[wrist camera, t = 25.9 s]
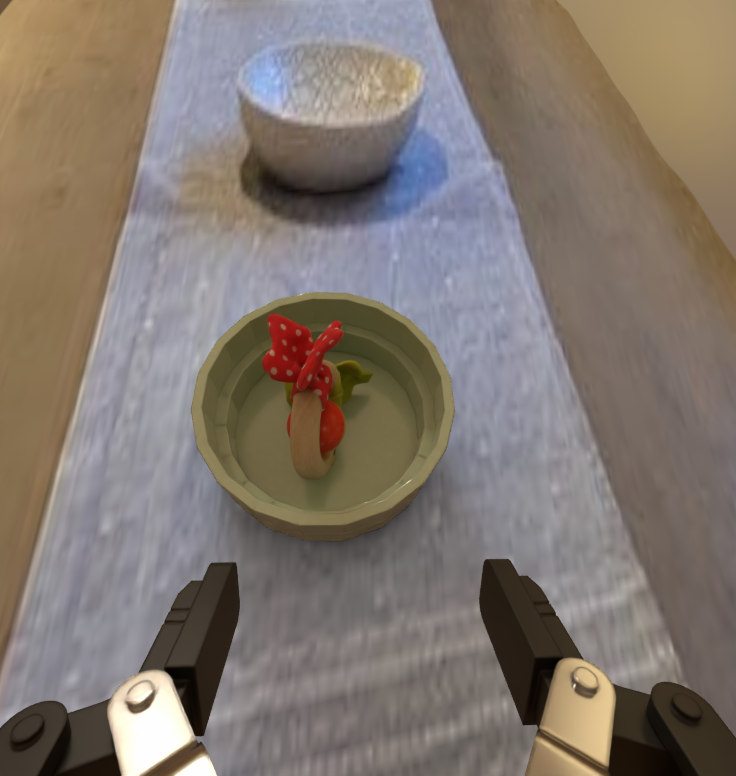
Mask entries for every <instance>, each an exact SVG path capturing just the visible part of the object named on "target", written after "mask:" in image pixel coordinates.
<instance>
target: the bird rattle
mask: <svg viewBox="0 0 736 776" xmlns="http://www.w3.org/2000/svg"><path fill="white" fill-rule="evenodd" d="M267 322H268V327H269V332H270V336H271V340H272V346H271V349H270V350H269V351H268V352H267V353H266V354H265V356H264V358H263V360H262V366H263V369H264V370H265V372H266V373H267V374H268V375H269V376H270V377H271V378H272V379H273V380H276V381H279V382H285V389H286V398H287V403H288V404H289V405H290V406H291V407H292V411H291V412H290V414H289V417H288V421H287V432H288V436H289V438H290V449H291V457H292V461H293V465H294V468H295V470H296V472H297V474H298V475H299V476H301V477H302V478H304V479H309V480H318V479H321V478H323V477H324V476H325V475H326V474H327V472H328V471H329V469H330V467H331V466H332V465H333V464H334V463H335V458H336V447H337V446H338V445H339V444H340V442H341V441H342V439H343V437H344V434H345V428H346V423H345V418H344V415H343V413H342V411H341V406H342V404H343V403H345V402H347V401H348V400H349V399H350V397H351V395H352V391H353V388H354V386H355V385H358V384H362V383H368V382H369V381H370V379H371V377H372V375H373V373H372V372H370V371H362V368H361V366H360V364H359V363H357V362H355V361H350V360H348V361H344V362H341V363H338V364H336V365H334V364H333V363H331V362H330V361H327V360H323V357H324V354H325V353H326V352H327V351H328V350H330V349H332V348H333V347H334V346H335V345H336V344H337V343H338V342H339V341H340V340H341V339H342V337H343V335H344V333H343V332H342V331H341V330H340V328H341V325H342V323H341V322H339V321H337V320H336V321H333V322H332V323H331V324H330V325H329V326H328V327H327V329H326V330H325V331H324V332H323V333H322V334H321V335H320V336H319V337H318V338H317V340H316V342H315V344H314V342H313V339H312V336H311V333H310V330H309V329H308V328H306V327H304V326H302V325H299V324H297V323H295V322H293V321H291V320H289V319H287V318H285V317H283V316H281V315H278V314H271V315H269V316H268V319H267Z"/></svg>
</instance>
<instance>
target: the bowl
mask: <svg viewBox="0 0 736 776" xmlns="http://www.w3.org/2000/svg"><path fill="white" fill-rule="evenodd" d="M271 314H278V315H281V316H283V317H285V318H287V319H289V320H291V321H293V322H295V323H297V324H299V325H302V326H304V327H306V328H308V329H309V330H310V333H311V336H312V339H313V342H314V344H315V342H316V340H317V338H318V337H319V336H320V335H321V334H322V333H323V332H324V331H325V330H326V329H327V327H328V326H329V325H330V324H331V323H332V322H333V321H336V320H337V321H339V322H341V323H342V325H341V328H340V330H341V331H342V332H343V333H344V335H343V337H342V339H341V340H340V341H339V342H338V343H337V344H336V345H335V346H334V347H333V348H332V349H330V350H328V351H327V352H326V353H325V354H324V357H323V360H327V361H330V362H331V363H333V364H334V365H336V364H338V363H341V362H344V361H348V360H350V361H355V362H357V363H359V364H360V366H361V368H362V371H370V372H372V373H373V375H372V377H371V379H370V381H369V382H368V383H362V384H358V385H355V386H354V388H353V391H352V395H351V397H350V399H349V400H348V401H347V402H345V403H343V404H342V406H341V411H342V413H343V415H344V418H345V423H346V428H345V434H344V437H343V439H342V441H341V442H340V444H339V445H338V446H337V447H336V458H335V463H334V464H333V465H332V466H331V467H330V469H329V471H328V472H327V474H326V475H325V476H324V477H323V478H321V479H318V480H309V479H304V478H302V477H301V476H299V475H298V474H297V472H296V470H295V468H294V465H293V461H292V457H291V449H290V438H289V436H288V432H287V421H288V417H289V414H290V412H291V411H292V407H291V406H290V405H289V404H288V403H287V398H286V389H285V382H279V381H276V380H273V379H272V378H271V377H270V376H269V375H268V374H267V373H266V372H265V370H264V369H263V366H262V360H263V358H264V356H265V354H266V353H267V352H268V351H269V350H270V349H271V346H272V340H271V336H270V332H269V327H268V322H267V319H268V316H269V315H271ZM454 412H455V409H454V401H453V393H452V386H451V378H450V375H449V373H448V371H447V369H446V367H445V365H444V363H443V361H442V359H441V357H440V355H439V353H438V351H437V349H436V347H435V346H434V344H433V343H432V342H431V341H430V340H429V339H428V338H427V336H426V335H425V334H424V333H423V332H422V331H421V330H420V329H419V328H418V327H417V326H416V325H415V324H414V323H413V322H412V321H411V320H410V319H408V318H406V317H405V316H403V315H401V314H400V313H398V312H396V311H394V310H393V309H391V308H389V307H388V306H386V305H384V304H382V303H380V302H377V301H374V300H370V299H366V298H363V297H359V296H356V295H352V294H348V293H326V292H312V293H311V292H310V293H305V294H300V295H296V296H291V297H287V298H282V299H278V300H275V301H273V302H271V303H269V304H267V305H265V306H263V307H261V308H259V309H257V310H255V311H253V312H251V313H249V314H247V315H245V316H244V317H242V318H241V319H240V320H239V321H238V322H237V323H236V324H235V325H234V326H233V327H231V328H230V329H229V330H228V331H227V332H226V333H225V334H224V335H223V336H222V337H221V338H219V339H218V340H217V342H216V343H215V345H214V347H213V349H212V350H211V352H210V354H209V355H208V357H207V359H206V360H205V362H204V364H203V366H202V367H201V369H200V371H199V373H198V376H197V381H196V386H195V391H194V396H193V401H192V406H191V414H192V420H193V426H194V432H195V438H196V444H197V448H198V450H199V452H200V454H201V455H202V457H203V459H204V460H205V462H206V464H207V465H208V467H209V469H210V470H211V472H212V474H213V475H214V477H215V479H216V480H217V482H218V483H219V484H220V485H221V487H222V488H223V489H224V490H225V491H226V492H227V493H228V494H229V495H230V496H231V497H232V498H233V499H234V500H235V501H236V502H237V503H238V504H239V505H240V506H241V507H242V508H243V509H244V510H246V511H247V512H248V513H249V514H251V515H252V516H253V517H255V518H256V519H257V520H258V521H260V522H261V523H262V524H263V525H265V526H266V527H267V528H269V529H271V530H274V531H277V532H280V533H283V534H286V535H289V536H292V537H295V538H298V539H301V540H305V541H344V540H347V539H350V538H353V537H356V536H359V535H362V534H365V533H367V532H370V531H373V530H376V529H379V528H380V527H382V526H384V525H385V524H386V523H387V522H389V521H390V520H391V519H393V518H394V517H395V516H396V515H398V514H399V513H400V512H401V511H403V510H404V509H405V508H407V507H408V506H409V505H410V504H411V502H412V501H413V499H414V498H415V496H416V495H417V494H418V492H419V491H420V489H421V488H422V486H423V485H424V483H425V482H426V480H427V479H428V477H429V475H430V474H431V472H432V471H433V469H434V468H435V466H436V465H437V463H438V461H439V460H440V458H441V457H442V455H443V454H444V452H445V451H446V448H447V444H448V440H449V436H450V431H451V427H452V422H453V418H454Z"/></svg>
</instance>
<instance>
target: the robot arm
mask: <svg viewBox="0 0 736 776" xmlns="http://www.w3.org/2000/svg"><path fill="white" fill-rule="evenodd" d="M479 604H480V612H481V616H482V619H483V622H484V625H485V627H486V630H487V632H488V635H489V638H490V640H491V643H492V645H493V648H494V651H495V653H496V656H497V658H498V661H499V664H500V666H501V669H502V672H503V674H504V677H505V679H506V682H507V685H508V687H509V690H510V692H511V695H512V698H513V700H514V703H515V705H516V708H517V711H518V713H519V716H520V719H521V721H522V724H523V725H537V726H538V728H539V729H538V730H537V733H536V737H535V740H534V744H533V748H532V751H531V755H530V759H529V762H528V766H527V770H526V773H525V776H736V738H735V736H734V735H733V734H732V732H731V731H730V730H729V729H728V727H727V726H726V725H725V723H724V722H723V721H722V719H721V718H720V717H719V715H718V714H717V713H716V712H715V710H714V709H713V708H712V707H711V706H710V705H709V704H708V703H707V702H706V701H705V700H704V699H703V698H702V697H701V696H699V695H698V694H696V693H695V692H693V691H692V690H690V689H688V688H686V687H684V686H682V685H679V684H676V683H672V682H660V683H657V684H656V685H655V686H654V687H653V688H652V691H651V695H649V694H646V693H642V692H638V691H634V690H631V689H627V688H623V687H620V686H617V685H615V684H613V683H612V682H611V680H610V679H609V678H608V677H607V675H606V674H605V673H604V672H603V671H602V670H600V669H599V668H598V667H597V666H595V665H594V664H592V663H590V662H588V661H586V660H584V659H583V658H582V656H581V654H580V653H579V651H578V649H577V648H576V646H575V644H574V643H573V641H572V639H571V638H570V636H569V634H568V633H567V631H566V629H565V628H564V626H563V624H562V623H561V621H560V619H559V617H558V616H556V612H555V611H554V609H553V607H552V606H551V604H549V601H548V599H547V597H546V596H545V594H544V592H543V591H542V589H541V588H540V587H539V586H538V585H537V584H536V583H535V582H534V581H533V580H531V579H530V578H529V577H528V576H519V575H518V573H517V572H516V570H515V568H514V566H513V564H512V563H511V561H510V560H509V559H486V560H485V561H484V565H483V572H482V580H481V588H480V597H479ZM239 609H240V599H239V586H238V574H237V565H236V563H235V562H232V563H211V564H210V565H209V567H208V569H207V572H206V574H205V576H204V578H203V581H191V582H190V583H189V584H188V585H187V586H186V587H185V588H184V589H183V590H182V591H181V592H180V593H178V595H177V597H176V599H175V601H174V603H173V605H172V607H171V611H170V612H169V613H168V615H167V617H166V619H165V623H164V624H163V625H162V627H161V629H160V631H159V633H158V635H157V637H156V639H155V641H154V643H153V645H152V647H151V649H150V651H149V653H148V655H147V657H146V659H145V661H144V663H143V665H142V667H141V669H140V671H139V672H138V674H136V675H134V676H132V677H131V678H129V679H128V680H126V681H125V682H124V683H123V684H122V685H121V686H119V688H118V689H117V690H116V691H115V692H114V694H113V695H112V697H111V698H110V699H108V700H106V701H103V702H101V703H98V704H95V705H92V706H89V707H86V708H83V709H80V710H77V711H74V712H70V713H67V710H66V708H65V706H64V705H63V704H62V703H60V702H57V701H44V702H40V703H36V704H34V705H31V706H29V707H27V708H25V709H23V710H22V711H20V712H19V713H17V714H16V715H14V716H13V717H12V718H10V719H9V720H8V721H7V722H6V723H5V724H4V725H3V726H2V727H1V728H0V776H217V775H216V772H215V770H214V768H213V765H212V763H211V760H210V758H209V756H208V753H207V751H206V749H205V747H204V745H203V744H202V742H200V743H198V742H197V740H196V738H195V736H204V733H205V730H206V726H207V723H208V720H209V716H210V713H211V710H212V706H213V703H214V699H215V696H216V693H217V689H218V686H219V683H220V679H221V676H222V673H223V669H224V666H225V663H226V659H227V656H228V653H229V649H230V646H231V643H232V639H233V636H234V632H235V629H236V626H237V622H238V617H239Z"/></svg>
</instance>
